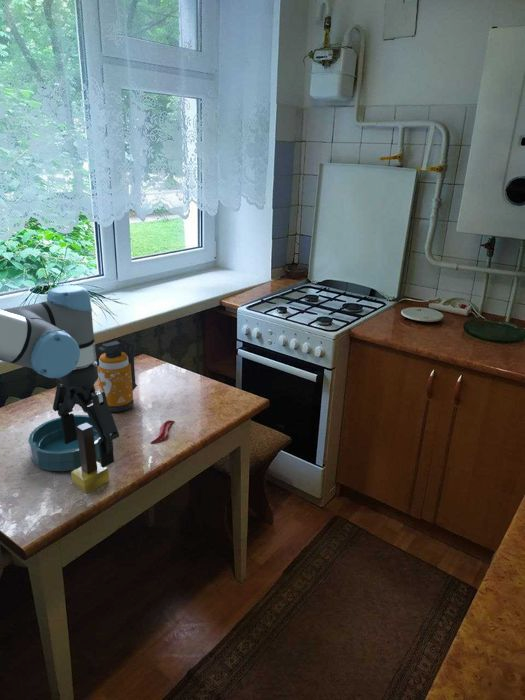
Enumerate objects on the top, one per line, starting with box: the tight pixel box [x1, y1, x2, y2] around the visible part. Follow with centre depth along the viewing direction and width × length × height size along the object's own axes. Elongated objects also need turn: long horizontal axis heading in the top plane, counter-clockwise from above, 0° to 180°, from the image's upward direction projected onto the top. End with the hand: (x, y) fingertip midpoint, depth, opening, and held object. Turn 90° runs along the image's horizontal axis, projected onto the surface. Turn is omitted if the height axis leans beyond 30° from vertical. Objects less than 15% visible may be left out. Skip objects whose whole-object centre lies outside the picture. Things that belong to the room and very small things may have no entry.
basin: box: [27, 414, 100, 472], centre depth 120 cm, size 18×18×6 cm
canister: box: [97, 338, 138, 413], centre depth 141 cm, size 9×11×20 cm
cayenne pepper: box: [150, 419, 175, 444], centre depth 131 cm, size 12×5×2 cm, turn 155°
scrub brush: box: [70, 423, 110, 495], centre depth 108 cm, size 6×5×14 cm
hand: (88, 452), depth 107 cm, fingers open, 13 cm apart
